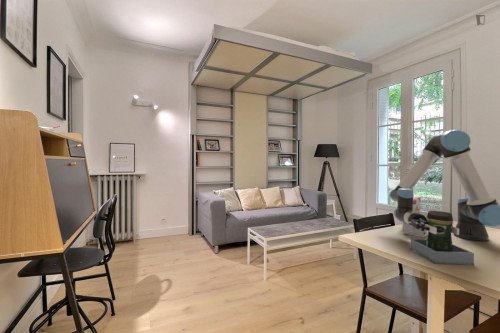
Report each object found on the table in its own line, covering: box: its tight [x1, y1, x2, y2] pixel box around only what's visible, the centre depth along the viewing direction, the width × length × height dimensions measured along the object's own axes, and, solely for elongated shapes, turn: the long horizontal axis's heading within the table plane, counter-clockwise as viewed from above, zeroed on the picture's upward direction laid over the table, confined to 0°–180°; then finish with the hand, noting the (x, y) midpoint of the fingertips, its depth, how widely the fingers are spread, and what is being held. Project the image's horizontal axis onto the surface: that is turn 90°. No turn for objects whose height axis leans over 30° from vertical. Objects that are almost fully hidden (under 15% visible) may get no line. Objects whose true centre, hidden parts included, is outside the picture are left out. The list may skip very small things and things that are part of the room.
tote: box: [409, 238, 475, 266], centre depth 110 cm, size 16×18×5 cm
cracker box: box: [402, 196, 422, 230], centre depth 157 cm, size 14×6×21 cm, turn 127°
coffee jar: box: [426, 210, 454, 252], centre depth 110 cm, size 10×8×19 cm
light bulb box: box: [402, 217, 428, 238], centre depth 144 cm, size 11×7×11 cm, turn 34°
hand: (446, 231), depth 105 cm, fingers closed on coffee jar, 9 cm apart
